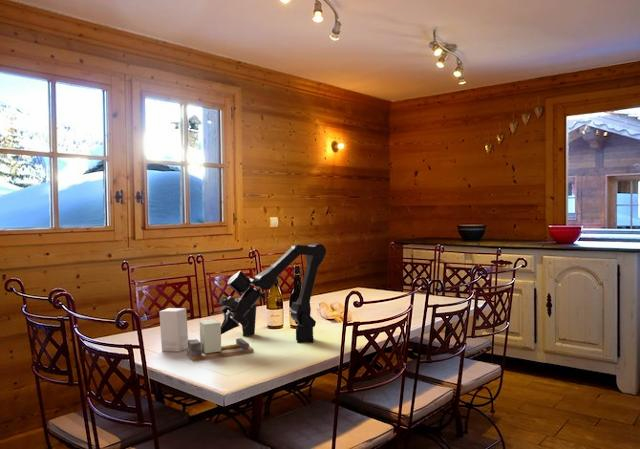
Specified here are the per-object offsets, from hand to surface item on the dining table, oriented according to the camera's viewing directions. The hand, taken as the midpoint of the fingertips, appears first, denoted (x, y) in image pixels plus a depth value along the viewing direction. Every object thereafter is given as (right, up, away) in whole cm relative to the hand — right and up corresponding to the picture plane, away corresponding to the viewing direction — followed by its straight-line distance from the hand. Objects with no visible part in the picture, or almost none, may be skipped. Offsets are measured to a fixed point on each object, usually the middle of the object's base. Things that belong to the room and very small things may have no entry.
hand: (219, 333), depth 192 cm
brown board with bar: (0, -7, 0) cm, 7 cm away
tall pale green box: (-3, -6, -1) cm, 6 cm away
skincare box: (-18, -8, +7) cm, 21 cm away
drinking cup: (+7, -6, +27) cm, 29 cm away
